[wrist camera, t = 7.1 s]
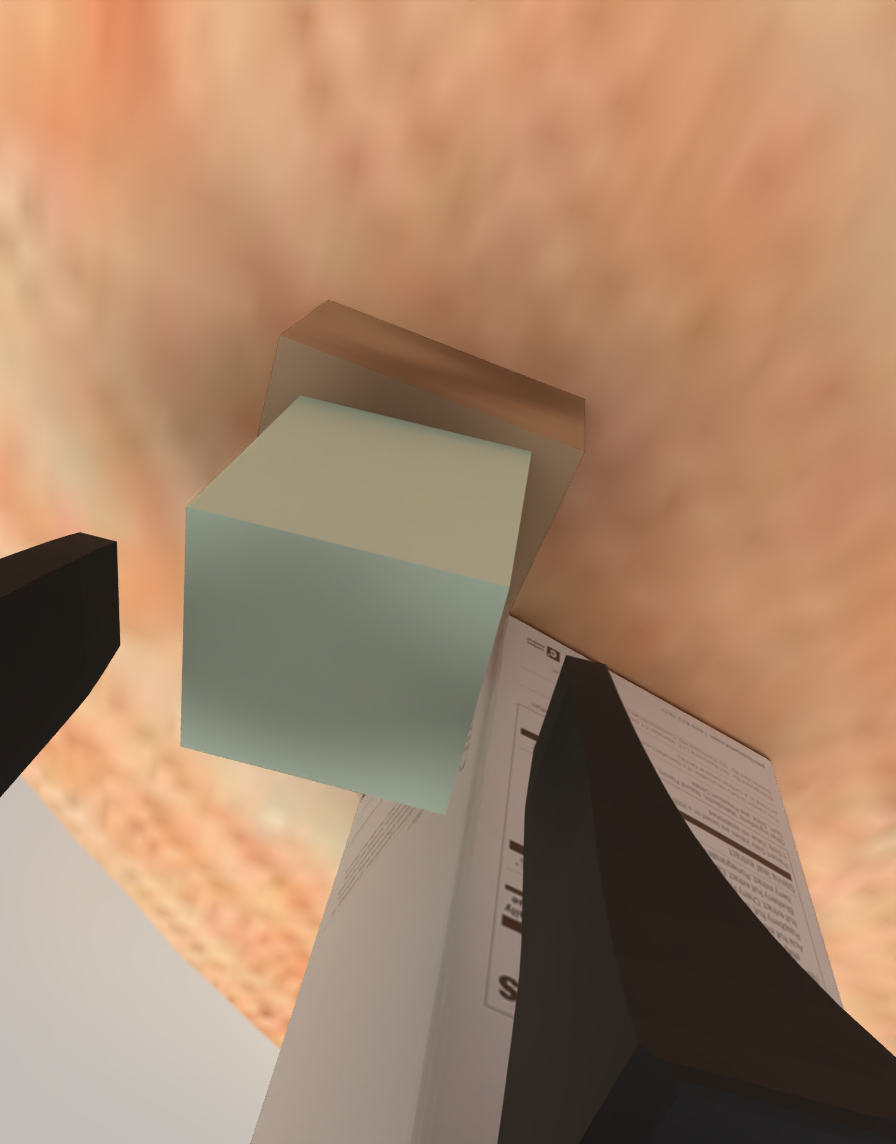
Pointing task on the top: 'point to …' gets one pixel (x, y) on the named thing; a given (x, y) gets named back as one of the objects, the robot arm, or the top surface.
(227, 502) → the sage block
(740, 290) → the top surface
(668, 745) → the supplement box
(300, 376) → the walnut block
